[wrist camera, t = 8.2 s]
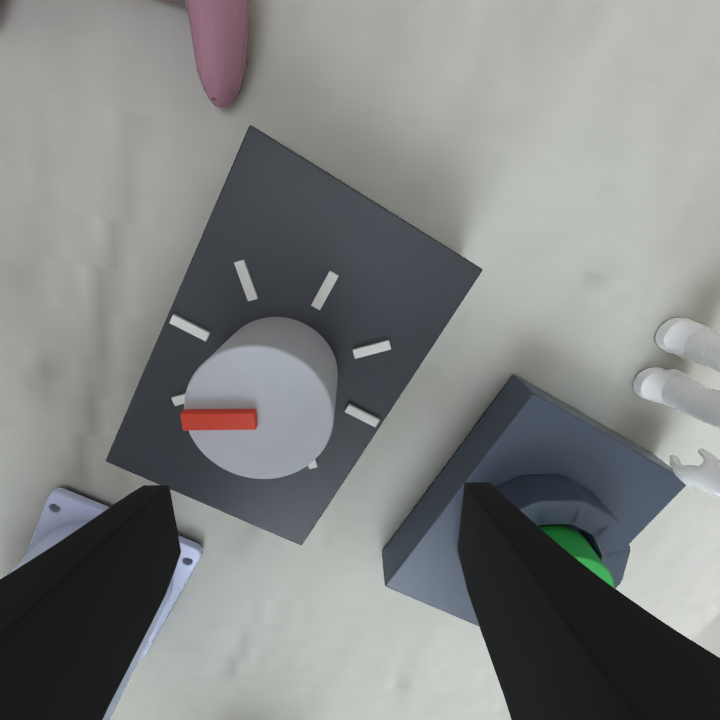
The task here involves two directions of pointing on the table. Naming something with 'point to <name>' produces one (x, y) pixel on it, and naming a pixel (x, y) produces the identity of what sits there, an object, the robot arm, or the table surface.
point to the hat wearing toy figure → (687, 391)
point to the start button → (579, 549)
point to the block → (530, 492)
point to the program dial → (264, 399)
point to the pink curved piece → (220, 46)
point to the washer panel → (299, 302)
